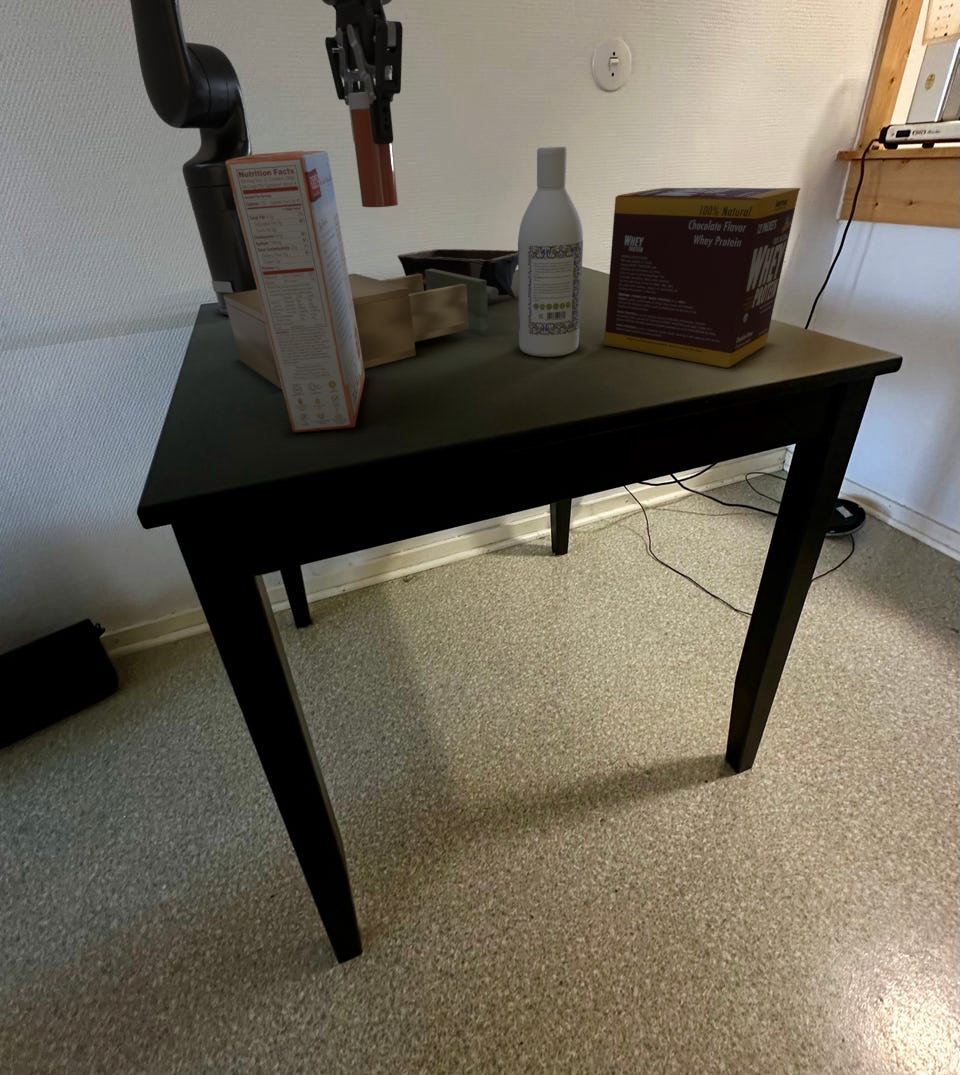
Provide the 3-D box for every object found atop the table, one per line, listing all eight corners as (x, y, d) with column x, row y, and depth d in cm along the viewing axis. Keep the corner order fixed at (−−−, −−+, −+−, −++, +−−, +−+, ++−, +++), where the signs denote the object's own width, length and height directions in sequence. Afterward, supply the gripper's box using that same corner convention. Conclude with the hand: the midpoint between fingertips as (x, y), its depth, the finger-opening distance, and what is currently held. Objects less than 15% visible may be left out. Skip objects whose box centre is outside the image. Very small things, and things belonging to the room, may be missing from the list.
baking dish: (454, 301, 103) (439, 238, 98) (542, 293, 93) (531, 222, 88) (399, 328, 94) (380, 260, 89) (490, 322, 84) (474, 245, 79)
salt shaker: (355, 205, 74) (341, 94, 67) (387, 202, 76) (376, 94, 69) (372, 208, 71) (359, 91, 64) (405, 204, 73) (394, 91, 66)
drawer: (460, 307, 87) (457, 264, 84) (514, 322, 78) (513, 274, 75) (335, 334, 78) (326, 286, 74) (380, 355, 69) (373, 302, 66)
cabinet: (363, 334, 81) (354, 273, 76) (416, 355, 71) (409, 287, 67) (240, 361, 73) (223, 294, 69) (281, 389, 63) (263, 314, 59)
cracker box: (311, 383, 65) (263, 152, 53) (367, 378, 65) (331, 148, 53) (287, 435, 53) (219, 155, 42) (356, 430, 53) (307, 150, 42)
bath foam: (590, 351, 69) (601, 144, 58) (538, 362, 67) (539, 148, 56) (558, 338, 75) (562, 146, 64) (508, 347, 72) (504, 149, 61)
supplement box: (730, 369, 62) (762, 196, 53) (602, 345, 71) (612, 194, 62) (769, 345, 68) (803, 186, 60) (647, 326, 77) (662, 186, 69)
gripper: (420, -74, 57) (433, 142, 66) (353, -41, 67) (373, 143, 76) (347, -85, 53) (373, 145, 63) (288, -48, 63) (318, 146, 73)
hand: (373, 143), depth 70 cm, fingers closed on salt shaker, 4 cm apart
